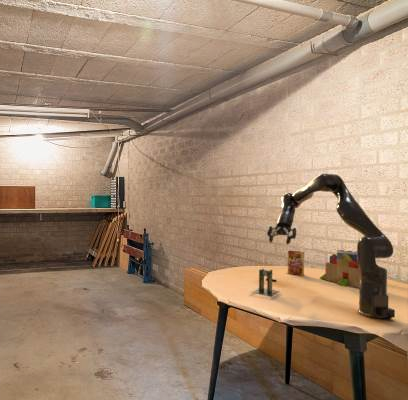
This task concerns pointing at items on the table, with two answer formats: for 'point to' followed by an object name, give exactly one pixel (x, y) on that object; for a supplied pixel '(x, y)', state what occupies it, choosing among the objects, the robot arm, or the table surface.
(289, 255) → the candy box
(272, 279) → the lever
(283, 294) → the table surface
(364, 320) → the table surface
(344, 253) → the block set
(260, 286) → the bracket
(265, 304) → the table surface
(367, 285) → the robot arm
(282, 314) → the table surface
